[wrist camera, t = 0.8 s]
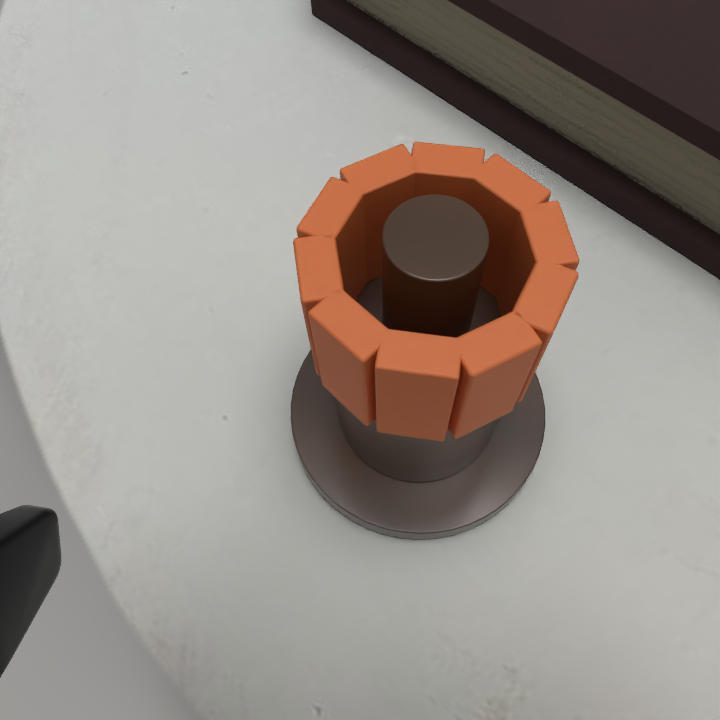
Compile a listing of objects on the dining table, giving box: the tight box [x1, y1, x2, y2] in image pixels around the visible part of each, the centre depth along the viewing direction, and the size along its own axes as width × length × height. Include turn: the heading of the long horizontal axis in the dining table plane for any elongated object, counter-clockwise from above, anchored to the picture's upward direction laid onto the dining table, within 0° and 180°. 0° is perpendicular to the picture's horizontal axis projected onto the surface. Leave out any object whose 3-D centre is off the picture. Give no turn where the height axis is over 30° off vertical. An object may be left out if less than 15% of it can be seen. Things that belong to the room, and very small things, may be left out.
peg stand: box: [291, 194, 545, 540], centre depth 20 cm, size 9×9×11 cm
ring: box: [293, 142, 579, 441], centre depth 18 cm, size 6×7×4 cm
